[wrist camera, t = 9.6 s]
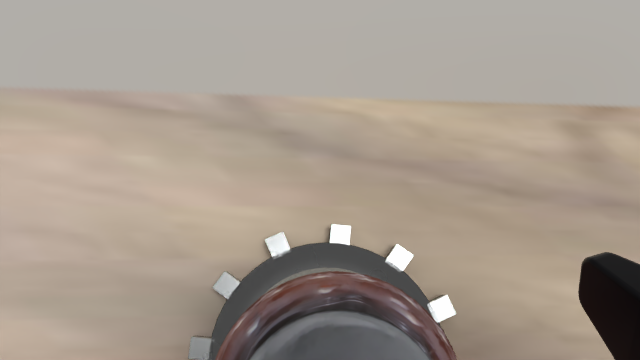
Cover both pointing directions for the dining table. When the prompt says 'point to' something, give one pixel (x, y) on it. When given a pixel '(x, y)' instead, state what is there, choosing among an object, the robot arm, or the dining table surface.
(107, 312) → the dining table surface
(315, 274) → the supplement bottle
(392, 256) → the sprocket plate
